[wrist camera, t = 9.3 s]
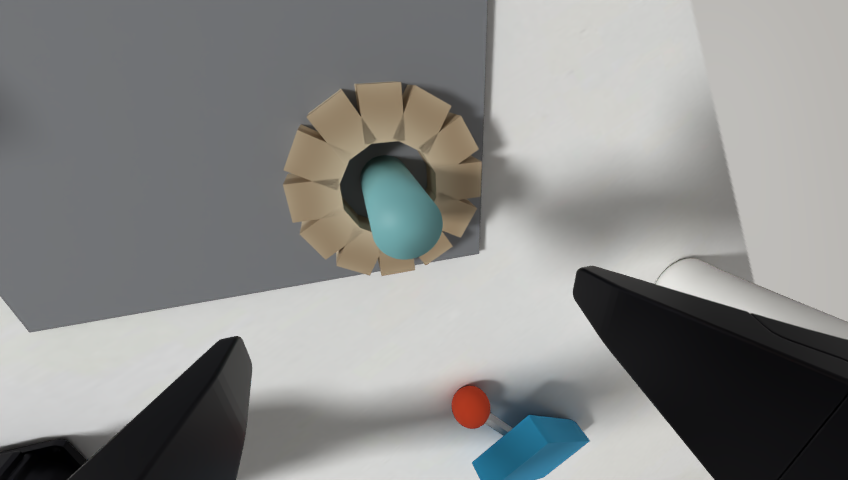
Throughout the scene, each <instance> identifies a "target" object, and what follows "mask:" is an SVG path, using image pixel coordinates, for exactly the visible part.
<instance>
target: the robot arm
mask: <svg viewBox="0 0 848 480" xmlns="http://www.w3.org/2000/svg"><path fill="white" fill-rule="evenodd" d="M573 297H574V299H575V301H576V302H577V304H578V305H579V307H580V308H581V310H582V311H583V313H584V314H585V316H586V317H587V319H588V320H589V322H590V323H591V325H592V326H593V328H594V329H595V331H596V332H597V334H598V335H599V337H600V338H601V340H602V341H603V343H604V344H605V345H606V346H607V348H608V349H609V350H610V352H611V353H612V354H613V355H614V357H615V358H616V359H617V360H618V361H619V363H620V364H621V365H622V366H623V368H624V369H625V370H626V371H627V373H628V374H629V375H630V376H631V377H632V379H633V380H634V381H635V382H636V384H637V385H638V386H639V387H640V389H641V390H642V391H643V392H644V393H645V395H646V396H647V397H648V398H649V400H650V401H651V402H652V403H653V405H654V406H655V407H656V408H657V410H658V411H659V412H660V413H661V414H662V416H663V417H664V418H665V419H666V421H667V422H668V423H669V424H670V426H671V427H672V428H673V429H674V430H675V432H676V433H677V434H678V435H679V437H680V438H681V439H682V440H683V442H684V443H685V444H686V445H687V446H688V448H689V449H690V450H691V451H692V453H693V454H694V455H695V456H696V458H697V459H698V460H699V461H700V462H701V464H702V465H703V466H704V467H705V469H706V470H707V471H708V472H709V474H710V475H711V476H712V477H713V478H714V480H848V340H847V339H843V338H839V337H836V336H832V335H828V334H825V333H821V332H817V331H813V330H810V329H806V328H802V327H799V326H795V325H792V324H788V323H785V322H781V321H778V320H774V319H771V318H767V317H764V316H761V315H757V314H754V313H749V312H747V311H744V310H740V309H737V308H734V307H730V306H727V305H724V304H720V303H717V302H713V301H710V300H707V299H703V298H700V297H697V296H693V295H690V294H686V293H683V292H680V291H676V290H673V289H670V288H666V287H663V286H660V285H656V284H653V283H649V282H646V281H643V280H639V279H636V278H633V277H629V276H626V275H623V274H619V273H616V272H612V271H609V270H606V269H602V268H599V267H596V266H587V267H582V268H580V269H578V271H577V273H576V278H575V283H574V288H573ZM251 377H252V363H251V359H250V357H249V354H248V352H247V349H246V347H245V345H244V342H243V340H242V338H241V337H239V336H234V337H229V338H224V339H221V340H219V341H218V342H217V343H215V344H214V345H213V346H212V347H211V348H210V349H209V350H208V351H207V352H206V353H205V354H203V355H202V356H201V357H200V358H199V359H198V360H197V361H196V362H195V363H194V364H193V365H191V366H190V367H189V368H188V369H187V370H186V371H185V372H184V373H183V374H182V375H181V376H179V377H178V378H177V379H176V380H175V381H174V382H173V383H172V384H171V385H170V386H169V387H168V388H166V389H165V390H164V391H163V392H162V393H161V394H160V395H159V396H158V397H157V398H156V399H154V400H153V401H152V402H151V403H150V404H149V405H148V406H147V407H146V408H145V409H144V410H142V411H141V412H140V413H139V414H138V415H137V416H136V417H135V418H134V419H133V420H132V421H131V422H129V423H128V424H127V425H126V426H125V427H124V428H123V429H122V430H121V431H120V432H119V433H117V434H116V435H115V436H114V437H113V438H112V439H111V440H110V441H109V442H108V443H107V444H105V445H104V446H103V447H102V448H101V449H100V450H99V451H98V452H97V453H96V454H95V455H94V456H92V457H91V458H90V459H89V460H88V461H87V462H86V460H85V459H84V458H83V457H82V456H81V455H80V454H79V453H78V452H77V451H76V450H75V448H74V447H73V446H72V445H71V444H70V443H69V442H68V441H66V440H62V439H57V440H52V441H48V442H44V443H39V444H35V445H31V446H26V447H22V448H18V449H13V450H9V451H5V452H1V453H0V480H236V478H237V473H238V468H239V464H240V459H241V455H242V450H243V445H244V440H245V435H246V427H247V417H248V407H249V397H250V387H251Z"/></svg>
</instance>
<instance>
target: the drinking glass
mask: <svg viewBox="0 0 848 480" xmlns="http://www.w3.org/2000/svg"><path fill="white" fill-rule="evenodd" d="M656 285H660V286H663V287H666V288H670V289H673V290H676V291H680V292H683V293H686V294H690V295H693V296H697V297H700V298H703V299H707V300H710V301H713V302H717V303H720V304H724V305H727V306H730V307H734V308H737V309H740V310H744V311H747V312H749V313H754V314H757V315H761V316H764V317H767V318H771V319H774V320H778V321H781V322H785V323H788V324H792V325H795V326H799V327H802V328H806V329H810V330H813V331H817V332H821V333H825V334H828V335H832V336H836V337H839V338H843V339H847V340H848V322H846V321H844V320H842V319H839V318H837V317H834V316H832V315H829V314H827V313H824V312H822V311H819V310H817V309H814V308H812V307H809V306H807V305H805V304H802V303H800V302H797V301H795V300H793V299H790V298H788V297H785V296H783V295H780V294H778V293H775V292H773V291H771V290H768V289H766V288H763V287H761V286H758V285H756V284H754V283H751V282H749V281H746V280H744V279H741V278H739V277H737V276H734V275H732V274H730V273H727V272H725V271H722V270H720V269H718V268H716V267H714V266H712V265H710V264H708V263H706V262H704V261H702V260H699V259H694V258H688V259H683V260H680V261H678V262H676V263H674V264H672V265H671V266H670V267H668V268H667V269H666V270H665V271H664V272H663V273H662V274H661V276H660V277H659V278H658V280H657V282H656Z"/></svg>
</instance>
